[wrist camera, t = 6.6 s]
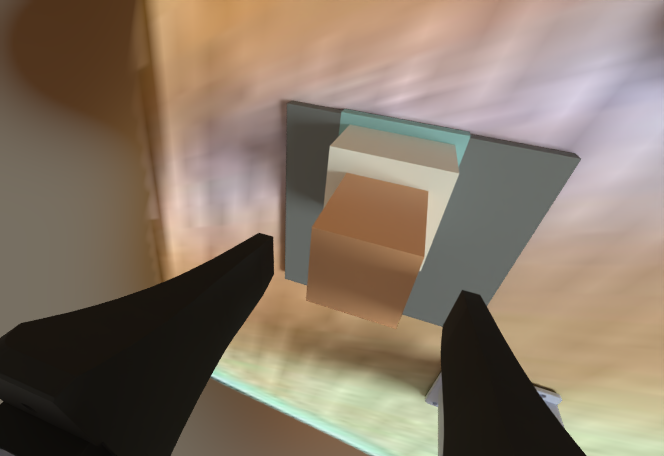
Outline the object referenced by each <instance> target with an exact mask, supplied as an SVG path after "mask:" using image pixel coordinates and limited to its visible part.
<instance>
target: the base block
mask: <svg viewBox="0 0 664 456" xmlns="http://www.w3.org/2000/svg"><path fill="white" fill-rule="evenodd" d="M346 173H351V174H355V175H359V176H364V177H368V178H373V179H377V180H382V181H386V182H390V183H395V184H399V185H404V186H408V187H412V188H417V189H421V190H426V191H429V192H428V208H427V225H426V241H425V257H424V260H423V262H422V265H421V267H420V270H419V271H421V270H422V267H423V264H424V262H425V259H426V257H427V254H428V252H429V249H430V247H431V244H432V242H433V239H434V237H435V234H436V231H437V229H438V226H439V224H440V221H441V219H442V216H443V214H444V211H445V209H446V206H447V204H448V201H449V198H450V196H451V193H452V191H453V188H454V186H455V183H456V181H457V178H458V176H459V168H458V161H457V154H456V147H455V145H453V144H448V143H443V142H438V141H432V140H427V139H422V138H417V137H412V136H407V135H402V134H397V133H392V132H386V131H381V130H376V129H371V128H366V127H361V126H356V125H351V124H350V125H349V126H348V127H347V128H346V129H345V130H344V131H343V132H342V133H341V135H340V136H339V137H338V138H337V139H336V140H335V141H334V142H333V143H332V144H331V145H330V149H329V158H328V168H327V178H326V188H325V198H324V207H325V206H326V204H327V202H328V201H329V199H330V198H331V196H332V195H333V193H334V192H335V190H336V188H337V187H338V185H339V184H340V182H341V181H342V179H343V178H344V176H345V174H346ZM323 209H324V208H323Z"/></svg>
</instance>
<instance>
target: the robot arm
mask: <svg viewBox="0 0 664 456" xmlns="http://www.w3.org/2000/svg"><path fill="white" fill-rule="evenodd" d="M273 275H274V255H273V237H272V236H268V235H265V234H261V233H258V234H256V235H254V236H253V237H251V238H249V239H247V240H246V241H244V242H242V243H240V244H239V245H237V246H235V247H233V248H232V249H230V250H228V251H226V252H224V253H223V254H221V255H219V256H217V257H215V258H214V259H212V260H210V261H208V262H206V263H204V264H202V265H200V266H198V267H196V268H194V269H192V270H190V271H188V272H186V273H183V274H181V275H179V276H177V277H175V278H172V279H170V280H167V281H165V282H163V283H160V284H158V285H155V286H153V287H150V288H147V289H145V290H142V291H139V292H136V293H133V294H130V295H127V296H124V297H121V298H119V299H115V300H112V301H109V302H105V303H102V304H99V305H95V306H91V307H88V308H84V309H80V310H77V311H73V312H69V313H65V314H60V315H56V316H51V317H47V318H43V319H39V320H34V321H29V322H24V323H21V324H19V325H18V326H16V327H15V328H14V329H12V330H11V331H9V332H8V333H7V334H5V335H4V336H2V337H1V338H0V399H1V400H2V401H4V402H3V403H1V404H0V456H171V453H172V451H173V449H174V447H175V445H176V443H177V441H178V439H179V437H180V434H181V432H182V430H183V428H184V426H185V424H186V422H187V420H188V418H189V417H190V414H191V413H192V410H193V409H194V406H195V405H196V403H197V400H198V399H199V397H200V395H201V393H202V391H203V389H204V388H205V386H206V384H207V382H208V380H209V378H210V376H211V375H212V373H213V371H214V369H215V367H216V366H217V364H218V362H219V360H220V359H221V357H222V355H223V353H224V352H225V350H226V348H227V347H228V345H229V344H230V342H231V341H232V339H233V338H234V336H235V335H236V333H237V332H238V331H239V329H240V328H241V326H242V325H243V323H244V322H245V321H246V319H247V318H248V316H249V315H250V313H251V312H252V311H253V309H254V308H255V306H256V305H257V303H258V302H259V300H260V299H261V297H262V296H263V294H264V292H265V290H266V289H267V287H268V285H269V283H270V281H271V279H272V277H273ZM425 401H426V402H427V403H428V404H431V405H434V406H436V407H438V456H586V455H585V453H584V452H583V451H582V450H581V449H580V447H579V446H578V445H577V444H576V442H575V441H574V440H573V439H572V437H571V436H570V435H569V434H568V432H567V431H566V430H565V428H564V425H563V422H562V419H561V416H560V412H559V409H558V406H557V405H558V404H559V403H560V402H561V401H562V399H561V396H560V395H559V394H557V393H554V392H551V391H548V390H545V389H542V388H539V387H536V386H533V384H532V383H531V381H530V380H529V378H528V377H527V375H526V373H525V372H524V370H523V369H522V367H521V366H520V364H519V362H518V361H517V359H516V357H515V356H514V354H513V352H512V351H511V349H510V347H509V346H508V344H507V342H506V341H505V339H504V337H503V335H502V334H501V332H500V330H499V328H498V326H497V325H496V323H495V321H494V319H493V317H492V315H491V313H490V312H489V310H488V308H487V306H486V304H485V302H484V301H483V299H482V297H481V295H479V294H476V293H472V292H468V291H465V290H462V291H461V293H460V294H459V296H458V298H457V300H456V302H455V304H454V306H453V307H452V309H451V311H450V313H449V315H448V317H447V319H446V320H445V322H444V324H443V329H442V340H441V373H440V374H439V376H438V378H437V379H436V381H435V382H434V384H433V386H432V387H431V389H430V390H429V392H428V394H427V395H426V397H425Z"/></svg>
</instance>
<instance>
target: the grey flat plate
mask: <svg viewBox="0 0 664 456" xmlns="http://www.w3.org/2000/svg"><path fill="white" fill-rule="evenodd" d="M350 124H351V125H356V126H361V127H366V128H371V129H376V130H381V131H386V132H392V133H397V134H402V135H407V136H412V137H417V138H422V139H427V140H432V141H438V142H443V143H448V144H453V145H455V147H456V154H457V161H458V168H459V176H458V178H457V181H456V183H455V186H454V188H453V191H452V193H451V196H450V198H449V201H448V204H447V206H446V209H445V211H444V214H443V216H442V219H441V221H440V224H439V226H438V229H437V231H436V234H435V237H434V239H433V242H432V244H431V247H430V249H429V252H428V254H427V257H426V259H425V262H424V264H423V267H422V270H421V271H419V272H418V275H417V278H416V280H415V283H414V285H413V288H412V290H411V293H410V296H409V298H408V301H407V303H406V306H405V308H404V311H403V314H402V315H406V316H409V317H412V318H416V319H419V320H422V321H425V322H429V323H432V324H435V325H438V326H442V327H443V324H444V322H445V320H446V319H447V317H448V315H449V313H450V311H451V309H452V307H453V306H454V304H455V302H456V300H457V298H458V296H459V294H460V293H461V291H462V290H465V291H468V292H472V293H476V294H479V295H481V297H482V299H483V301H484V302H485V304H486V306H487V305H488V304H489V302H490V300H491V299H492V297H493V296H494V294H495V293H496V291H497V289H498V288H499V286H500V285H501V283H502V282H503V280H504V279H505V277H506V275H507V274H508V272H509V271H510V269H511V268H512V266H513V265H514V263H515V261H516V260H517V258H518V257H519V255H520V254H521V252H522V251H523V249H524V247H525V246H526V244H527V243H528V241H529V240H530V238H531V237H532V235H533V233H534V232H535V230H536V229H537V227H538V226H539V224H540V223H541V221H542V219H543V218H544V216H545V215H546V213H547V212H548V210H549V209H550V207H551V205H552V204H553V202H554V201H555V199H556V198H557V196H558V194H559V193H560V191H561V190H562V188H563V187H564V185H565V184H566V182H567V180H568V179H569V177H570V176H571V174H572V173H573V171H574V170H575V168H576V166H577V165H578V163H579V162H580V160H581V158H580V157H579V156H577V155H576V154H575V153H569V152H564V151H559V150H553V149H548V148H543V147H537V146H532V145H527V144H521V143H516V142H511V141H505V140H500V139H494V138H489V137H484V136H478V135H473V134H470V132H467V131H462V130H456V129H451V128H446V127H440V126H435V125H430V124H424V123H419V122H413V121H408V120H403V119H397V118H392V117H386V116H381V115H376V114H370V113H365V112H360V111H354V110H349V109H344V110H339V109H334V108H329V107H323V106H318V105H312V104H307V103H302V102H296V101H291V102H289V103H287V150H286V239H285V279H288V280H291V281H294V282H298V283H301V284H304V285H307V282H308V269H309V256H310V243H311V231H312V226H313V224H314V223H315V221H316V220H317V218H318V217H319V215H320V213H321V212H322V210H323V208H324V198H325V188H326V178H327V168H328V158H329V149H330V145H331V144H332V143H333V142H334V141H335V140H336V139H337V138H338V137H339V136H340V135H341V133H342V132H343V131H344V130H345V129H346V128H347V127H348V126H349V125H350Z"/></svg>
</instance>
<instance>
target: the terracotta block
mask: <svg viewBox="0 0 664 456" xmlns="http://www.w3.org/2000/svg"><path fill="white" fill-rule="evenodd" d="M428 192H429V191H426V190H421V189H417V188H412V187H408V186H404V185H399V184H395V183H390V182H386V181H382V180H377V179H373V178H368V177H364V176H359V175H355V174H351V173H346V174H345V176H344V178H343V179H342V181H341V182H340V184H339V185H338V187H337V188H336V190H335V192H334V193H333V195H332V196H331V198H330V199H329V201H328V202H327V204H326V206H325V207H324V209H323V210H322V212H321V213H320V215H319V217H318V218H317V220H316V221H315V223H314V224H313V226H312V231H311V243H310V256H309V269H308V282H307V295H306V301H309V302H312V303H316V304H319V305H322V306H325V307H328V308H331V309H335V310H338V311H341V312H344V313H347V314H350V315H354V316H357V317H360V318H363V319H366V320H369V321H373V322H376V323H379V324H382V325H385V326H388V327H391V328H395V329H397V326H398V324H399V321H400V319H401V316H402V314H403V311H404V308H405V306H406V303H407V301H408V298H409V296H410V293H411V290H412V288H413V285H414V283H415V280H416V278H417V275H418V272H419V270H420V267H421V265H422V262H423V260H424V257H425V241H426V225H427V208H428Z"/></svg>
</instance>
